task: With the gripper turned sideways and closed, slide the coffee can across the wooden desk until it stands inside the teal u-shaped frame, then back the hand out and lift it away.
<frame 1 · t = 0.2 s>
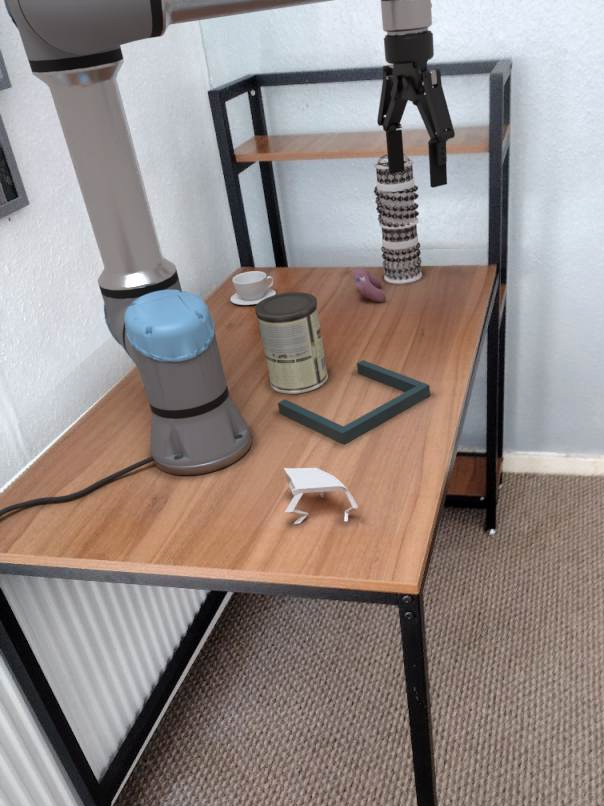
hand: (417, 178, 132), 28 cm above the table, tool pointing down, fingers open, 13 cm apart
coffee can: (299, 381, 138), on the table
teal u-shaped frame: (348, 402, 130), on the table
teacup: (253, 298, 173), on the table
video game controller: (370, 297, 167), on the table
origami figure: (321, 512, 106), on the table
decorative candle: (403, 277, 175), on the table
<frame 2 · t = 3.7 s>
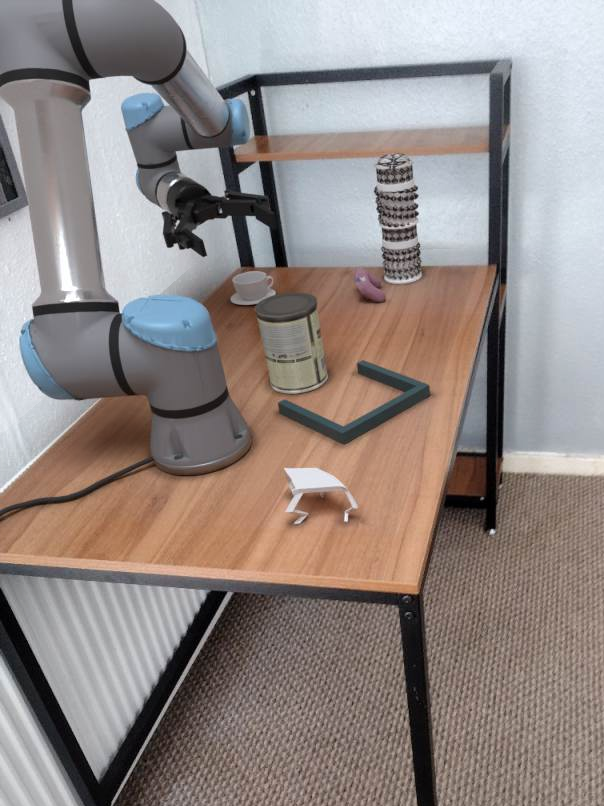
hand: (239, 235, 131), 23 cm above the table, tool horizontal, fingers open, 13 cm apart
nothing on the table moved.
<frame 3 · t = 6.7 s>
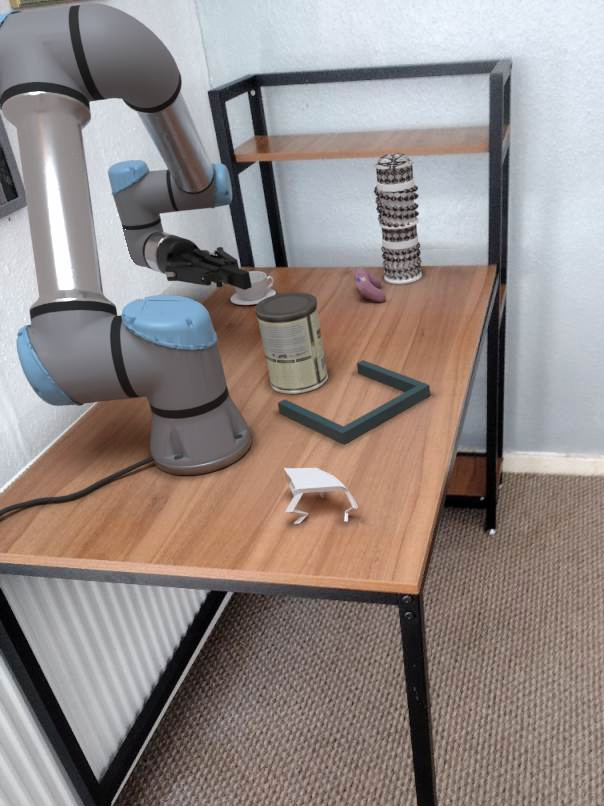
hand: (246, 280, 135), 16 cm above the table, tool horizontal, fingers closed
nothing on the table moved.
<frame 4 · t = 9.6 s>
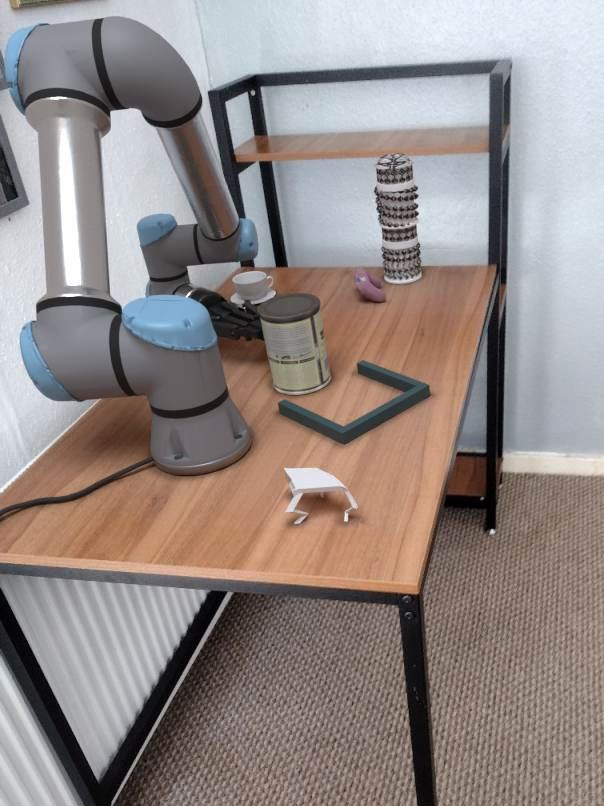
hand: (276, 336, 137), 7 cm above the table, tool horizontal, fingers closed
coffee can: (302, 382, 138), on the table, touching gripper
everything else where it was.
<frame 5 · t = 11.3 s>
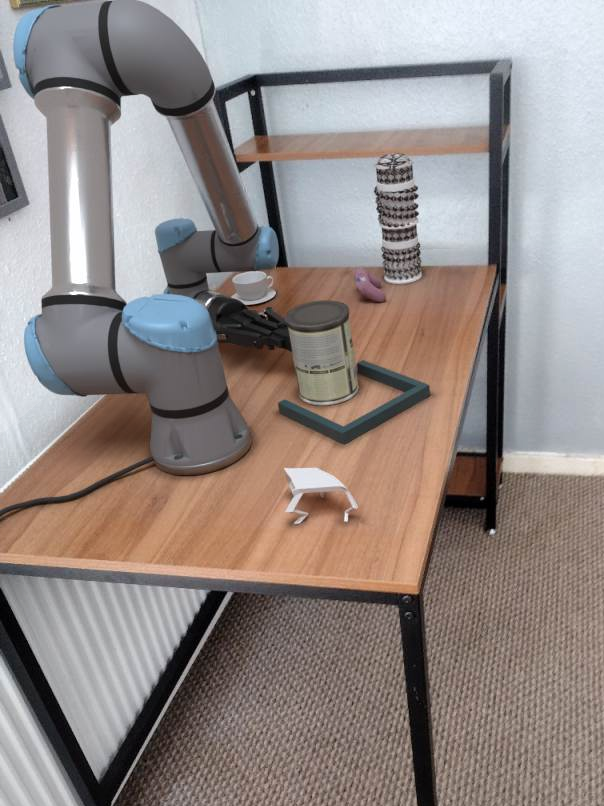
hand: (301, 345, 133), 7 cm above the table, tool horizontal, fingers closed
coffee can: (329, 392, 134), on the table, touching gripper
everything else where it was.
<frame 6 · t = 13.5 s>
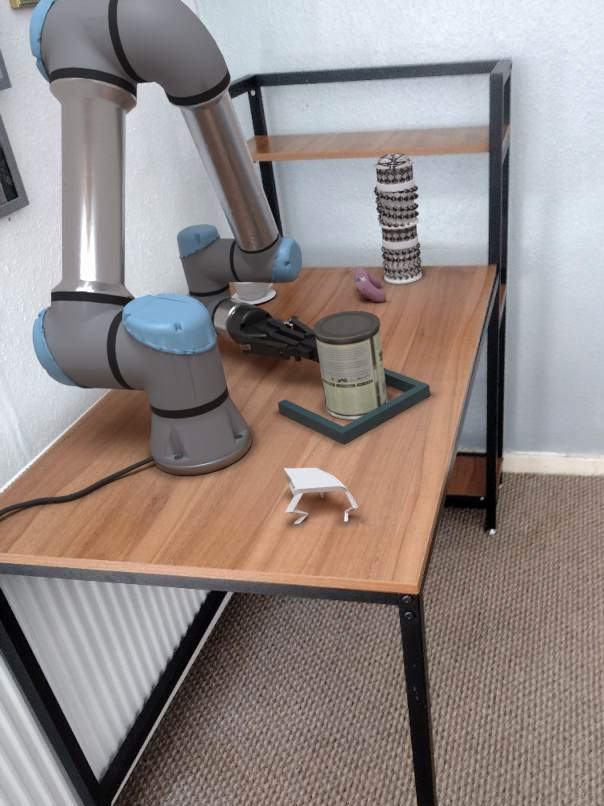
hand: (330, 357, 128), 7 cm above the table, tool horizontal, fingers closed
coffee can: (356, 405, 129), on the table, touching gripper
everything else where it was.
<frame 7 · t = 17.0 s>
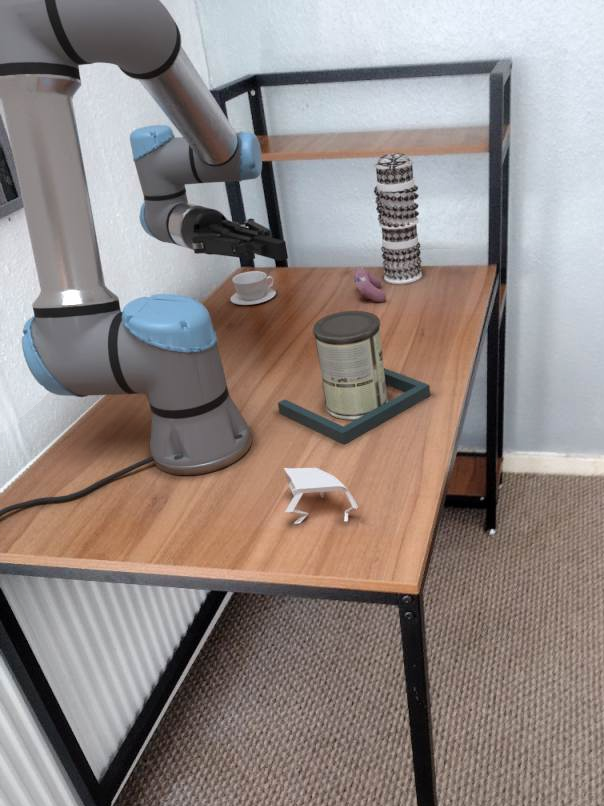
hand: (282, 251, 123), 23 cm above the table, tool horizontal, fingers closed
coffee can: (356, 405, 129), on the table
everything else where it was.
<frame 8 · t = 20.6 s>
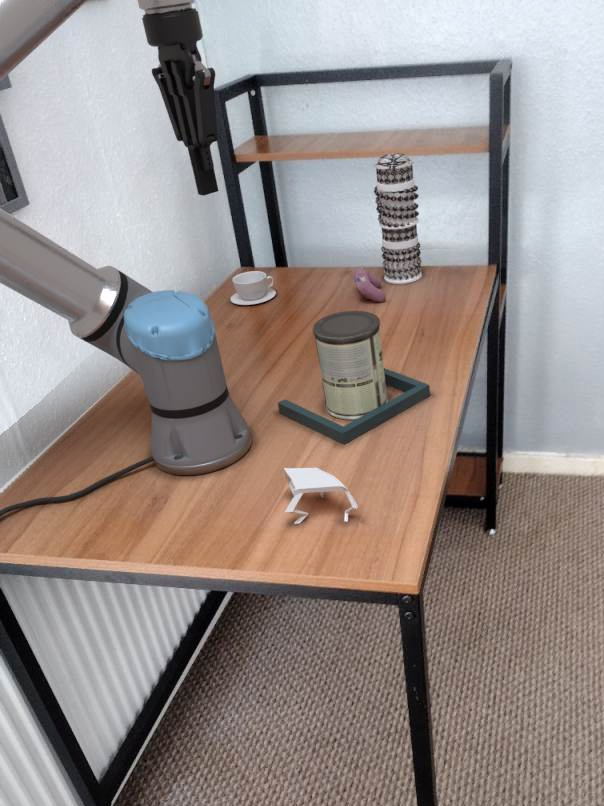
hand: (208, 192, 120), 32 cm above the table, tool pointing down, fingers closed
nothing on the table moved.
at the end: coffee can inside the target area on the teal u-shaped frame (1.8 cm from its centre), point 0.0 cm above the teal u-shaped frame's base; coffee can tilted 0°; coffee can moved 14.9 cm from its start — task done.
